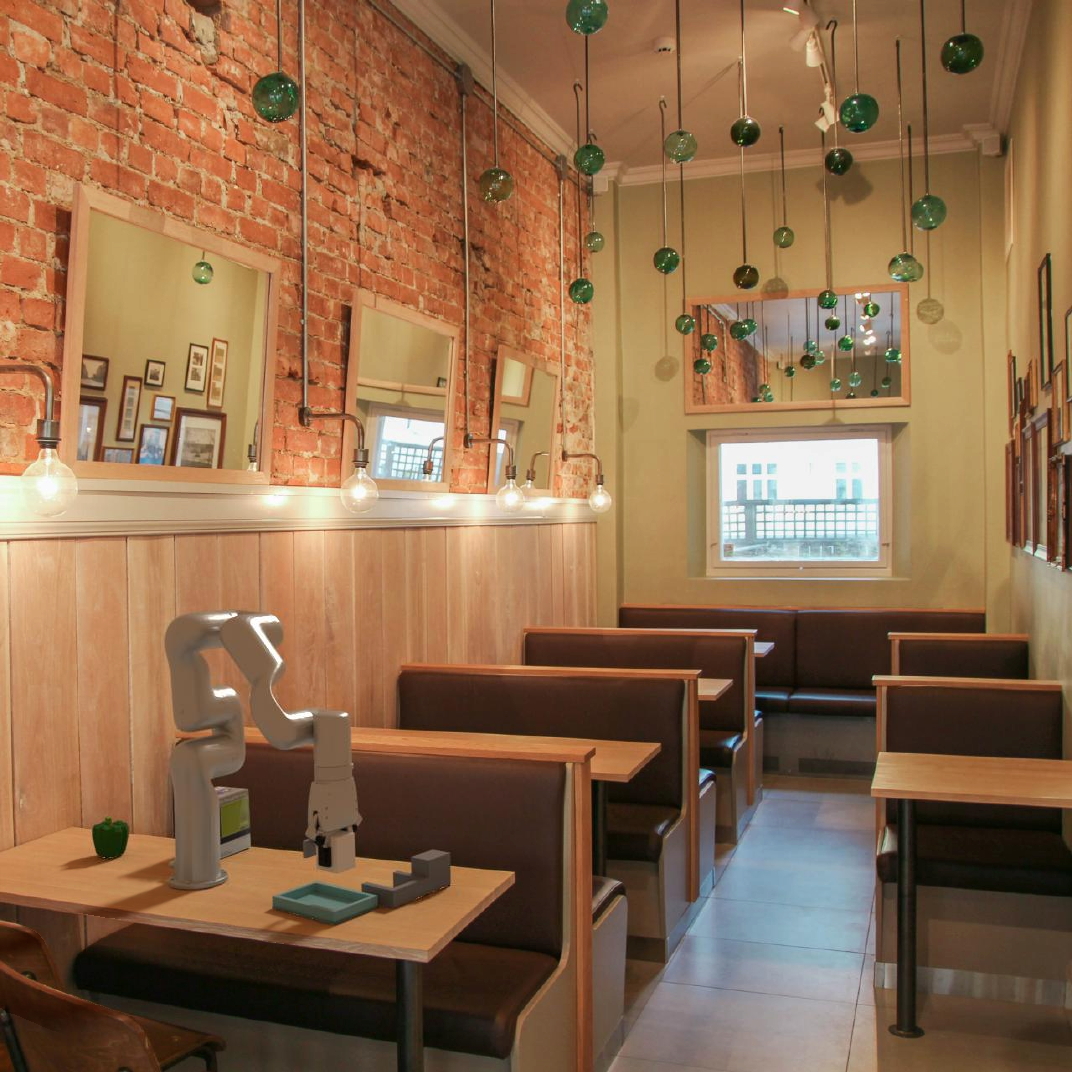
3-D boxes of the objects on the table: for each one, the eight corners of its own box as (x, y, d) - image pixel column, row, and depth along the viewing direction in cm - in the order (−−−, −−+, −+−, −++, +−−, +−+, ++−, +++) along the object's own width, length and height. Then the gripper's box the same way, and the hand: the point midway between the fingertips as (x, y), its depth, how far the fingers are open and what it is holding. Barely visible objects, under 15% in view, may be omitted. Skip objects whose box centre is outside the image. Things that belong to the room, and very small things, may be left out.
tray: (272, 908, 228) (272, 896, 228) (316, 892, 237) (316, 880, 237) (334, 924, 217) (334, 912, 217) (377, 907, 227) (377, 895, 227)
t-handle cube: (301, 865, 227) (300, 831, 228) (319, 859, 232) (319, 826, 232) (337, 873, 221) (336, 838, 221) (355, 867, 225) (354, 832, 225)
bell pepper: (107, 850, 273) (107, 809, 273) (135, 852, 270) (135, 811, 271) (84, 859, 265) (83, 817, 265) (113, 862, 262) (112, 820, 262)
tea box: (220, 844, 277) (219, 784, 277) (251, 848, 273) (250, 788, 273) (175, 860, 264) (174, 797, 264) (208, 865, 259) (207, 801, 259)
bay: (361, 900, 231) (361, 866, 231) (419, 878, 246) (419, 846, 246) (393, 908, 226) (392, 873, 226) (450, 885, 241) (450, 852, 241)
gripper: (350, 763, 234) (352, 850, 234) (288, 778, 221) (290, 870, 221) (376, 767, 230) (378, 855, 230) (314, 782, 216) (316, 876, 216)
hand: (335, 861), depth 225 cm, fingers closed on t-handle cube, 5 cm apart
